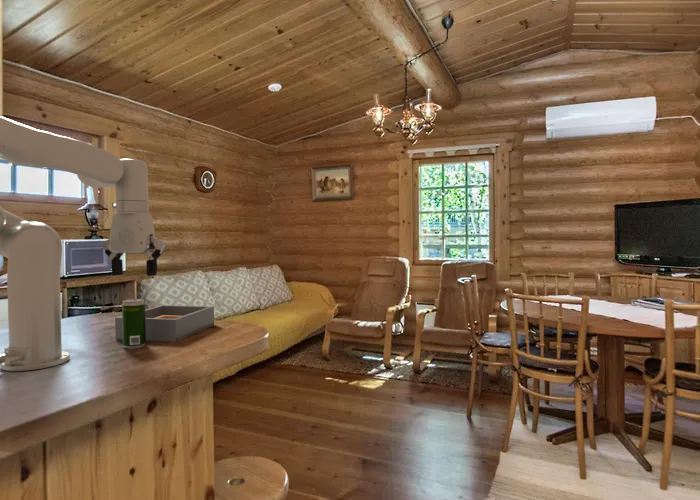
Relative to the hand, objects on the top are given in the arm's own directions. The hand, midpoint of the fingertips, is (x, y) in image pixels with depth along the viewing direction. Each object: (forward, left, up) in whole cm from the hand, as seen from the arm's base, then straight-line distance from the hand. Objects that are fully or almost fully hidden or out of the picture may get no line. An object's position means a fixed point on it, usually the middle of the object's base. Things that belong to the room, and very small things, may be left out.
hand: (134, 275), depth 111 cm
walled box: (+17, +1, -18) cm, 25 cm away
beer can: (0, 0, -19) cm, 19 cm away
